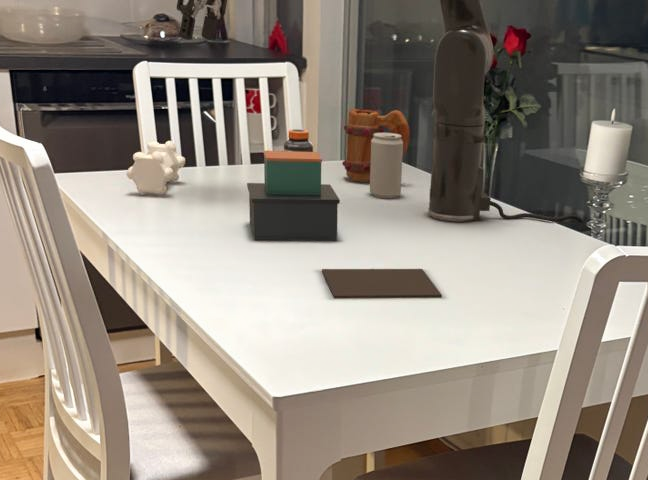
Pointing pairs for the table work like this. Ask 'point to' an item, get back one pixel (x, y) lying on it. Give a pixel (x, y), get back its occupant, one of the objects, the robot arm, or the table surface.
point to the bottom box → (293, 214)
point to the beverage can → (386, 165)
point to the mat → (379, 283)
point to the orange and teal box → (292, 173)
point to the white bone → (156, 167)
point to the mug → (369, 139)
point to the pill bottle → (298, 141)
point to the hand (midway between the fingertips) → (196, 38)
